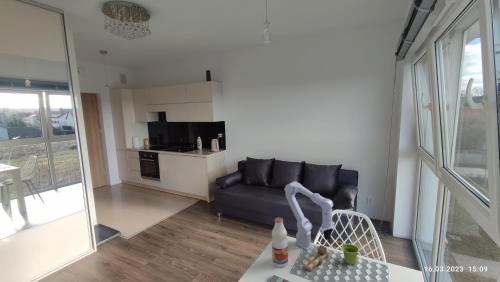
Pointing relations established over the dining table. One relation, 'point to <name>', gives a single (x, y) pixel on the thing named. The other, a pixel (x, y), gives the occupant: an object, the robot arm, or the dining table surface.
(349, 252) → the plant pot
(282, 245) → the fruit juice
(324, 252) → the rider
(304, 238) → the robot arm
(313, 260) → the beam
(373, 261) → the dining table surface
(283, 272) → the dining table surface
